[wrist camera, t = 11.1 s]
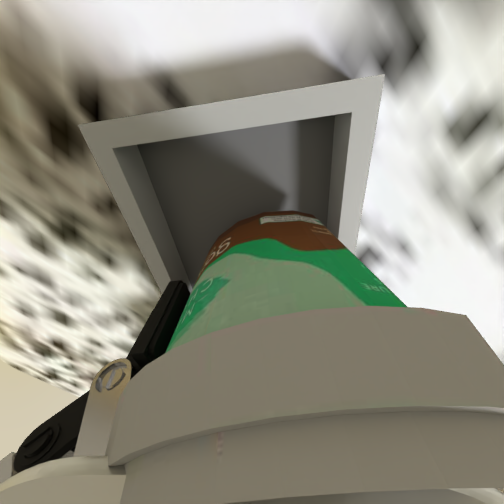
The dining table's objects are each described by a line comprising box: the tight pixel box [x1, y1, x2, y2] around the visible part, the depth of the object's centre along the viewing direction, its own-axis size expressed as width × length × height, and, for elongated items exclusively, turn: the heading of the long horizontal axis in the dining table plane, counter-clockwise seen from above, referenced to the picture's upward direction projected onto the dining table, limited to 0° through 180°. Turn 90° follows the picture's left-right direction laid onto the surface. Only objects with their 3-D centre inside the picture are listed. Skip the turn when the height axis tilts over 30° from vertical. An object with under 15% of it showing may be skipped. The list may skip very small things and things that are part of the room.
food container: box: [105, 210, 504, 504], centre depth 9 cm, size 12×6×10 cm, turn 162°
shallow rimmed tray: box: [78, 74, 385, 294], centre depth 13 cm, size 12×22×7 cm, turn 7°
